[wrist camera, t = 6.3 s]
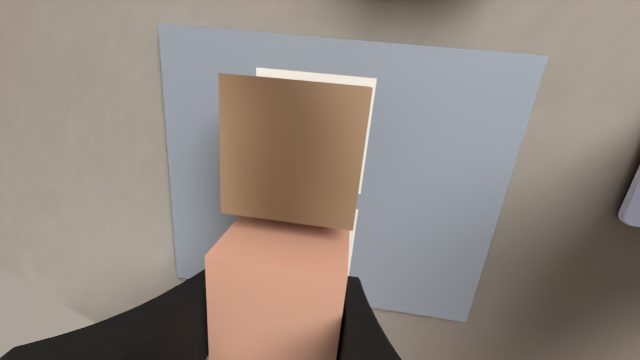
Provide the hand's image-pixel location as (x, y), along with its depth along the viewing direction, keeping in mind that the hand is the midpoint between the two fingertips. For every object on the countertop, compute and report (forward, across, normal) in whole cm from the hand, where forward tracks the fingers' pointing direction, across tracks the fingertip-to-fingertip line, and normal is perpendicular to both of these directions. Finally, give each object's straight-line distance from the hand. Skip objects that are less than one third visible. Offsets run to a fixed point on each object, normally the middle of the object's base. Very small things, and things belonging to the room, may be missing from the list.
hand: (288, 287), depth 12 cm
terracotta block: (+2, 0, -1) cm, 2 cm away
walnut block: (+3, 0, -6) cm, 7 cm away
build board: (+4, -1, -4) cm, 5 cm away
